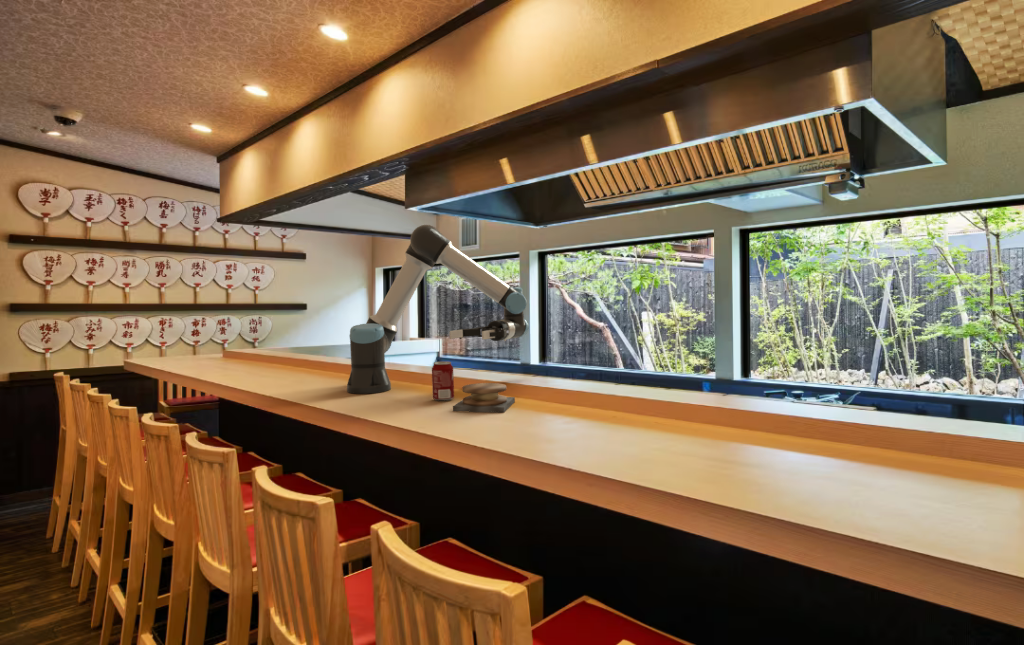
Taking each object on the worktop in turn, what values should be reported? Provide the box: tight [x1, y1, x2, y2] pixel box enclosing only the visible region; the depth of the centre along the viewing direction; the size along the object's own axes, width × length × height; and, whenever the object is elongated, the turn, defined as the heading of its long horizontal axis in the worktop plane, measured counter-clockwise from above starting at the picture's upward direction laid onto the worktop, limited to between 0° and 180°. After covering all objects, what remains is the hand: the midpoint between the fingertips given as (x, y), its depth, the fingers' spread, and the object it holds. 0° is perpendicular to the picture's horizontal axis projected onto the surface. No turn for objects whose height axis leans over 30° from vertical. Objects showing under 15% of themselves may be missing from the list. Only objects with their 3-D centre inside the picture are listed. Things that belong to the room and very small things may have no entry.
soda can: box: [431, 360, 455, 402], centre depth 179 cm, size 7×7×12 cm
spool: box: [452, 382, 516, 414], centre depth 167 cm, size 15×15×6 cm
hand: (466, 335), depth 190 cm, fingers open, 13 cm apart
